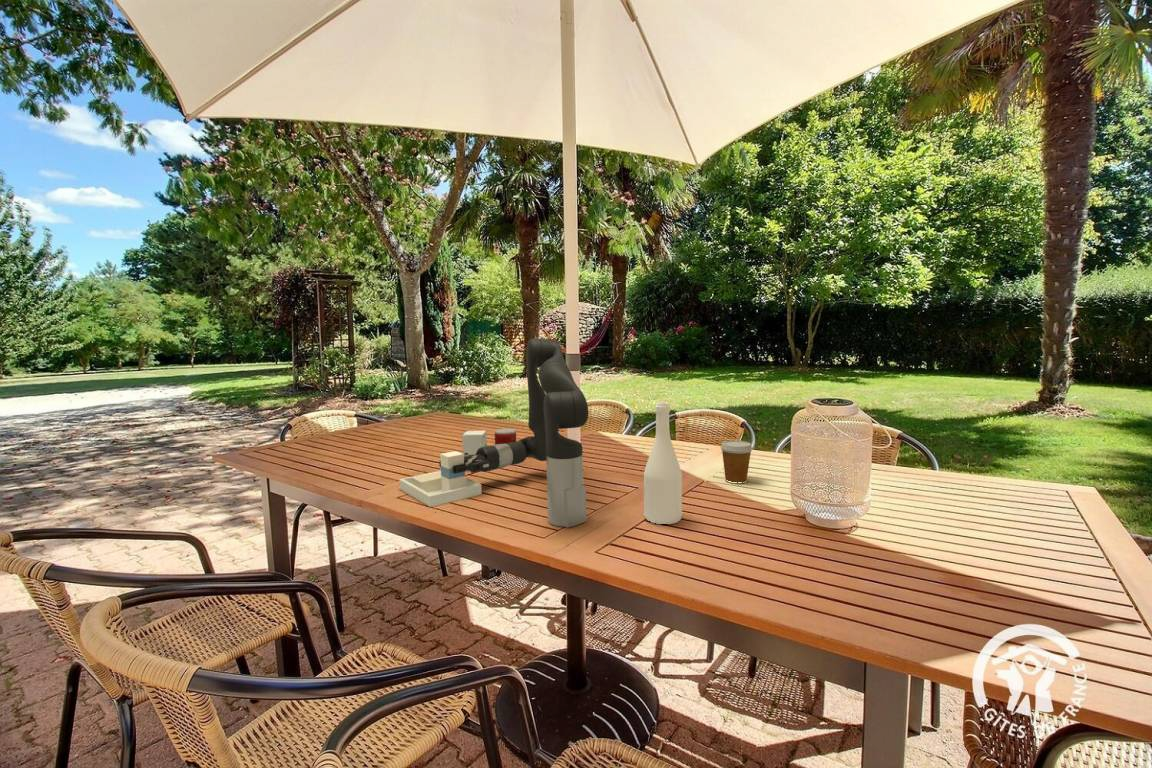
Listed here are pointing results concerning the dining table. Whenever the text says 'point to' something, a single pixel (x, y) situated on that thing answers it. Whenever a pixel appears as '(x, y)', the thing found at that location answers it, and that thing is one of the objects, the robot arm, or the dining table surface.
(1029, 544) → the dining table surface
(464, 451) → the supplement box
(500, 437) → the canned food
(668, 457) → the wine bottle
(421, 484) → the cream rectangular block
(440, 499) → the tray
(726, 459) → the brown clear cup
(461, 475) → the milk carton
